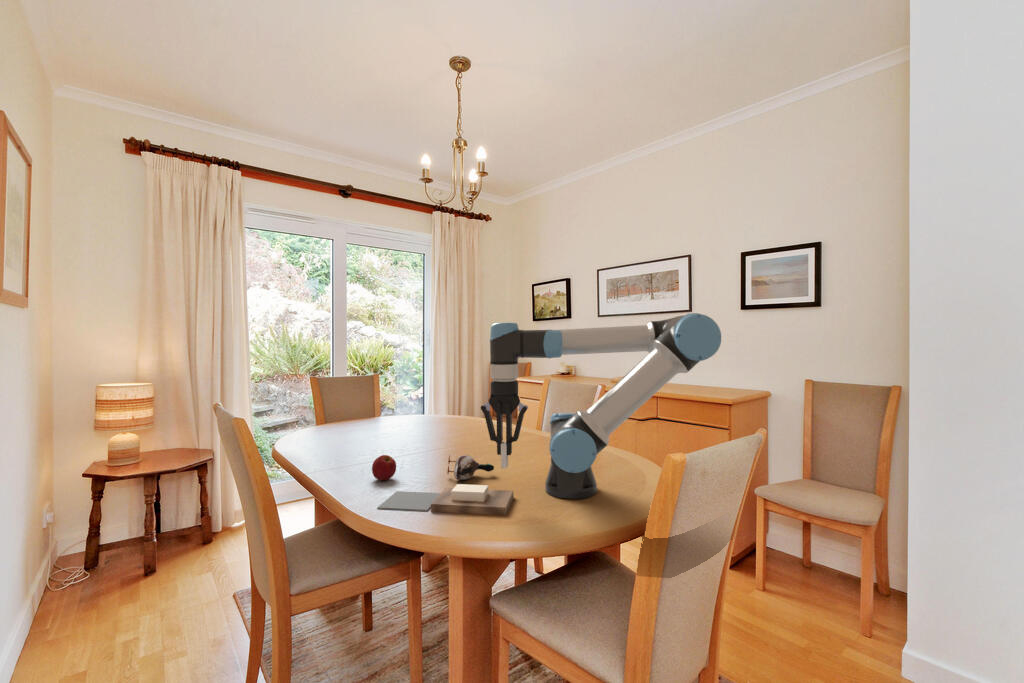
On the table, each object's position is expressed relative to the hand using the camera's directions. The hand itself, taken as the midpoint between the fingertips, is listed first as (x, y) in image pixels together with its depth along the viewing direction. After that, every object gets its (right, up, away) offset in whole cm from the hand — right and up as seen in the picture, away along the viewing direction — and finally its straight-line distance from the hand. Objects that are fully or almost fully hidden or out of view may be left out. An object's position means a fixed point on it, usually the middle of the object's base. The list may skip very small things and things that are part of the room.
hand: (504, 466), depth 124 cm
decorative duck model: (-11, -11, +23) cm, 28 cm away
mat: (-26, -11, +4) cm, 29 cm away
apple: (-39, -11, +24) cm, 47 cm away
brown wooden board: (-8, -11, +1) cm, 14 cm away
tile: (-9, -9, +2) cm, 13 cm away
